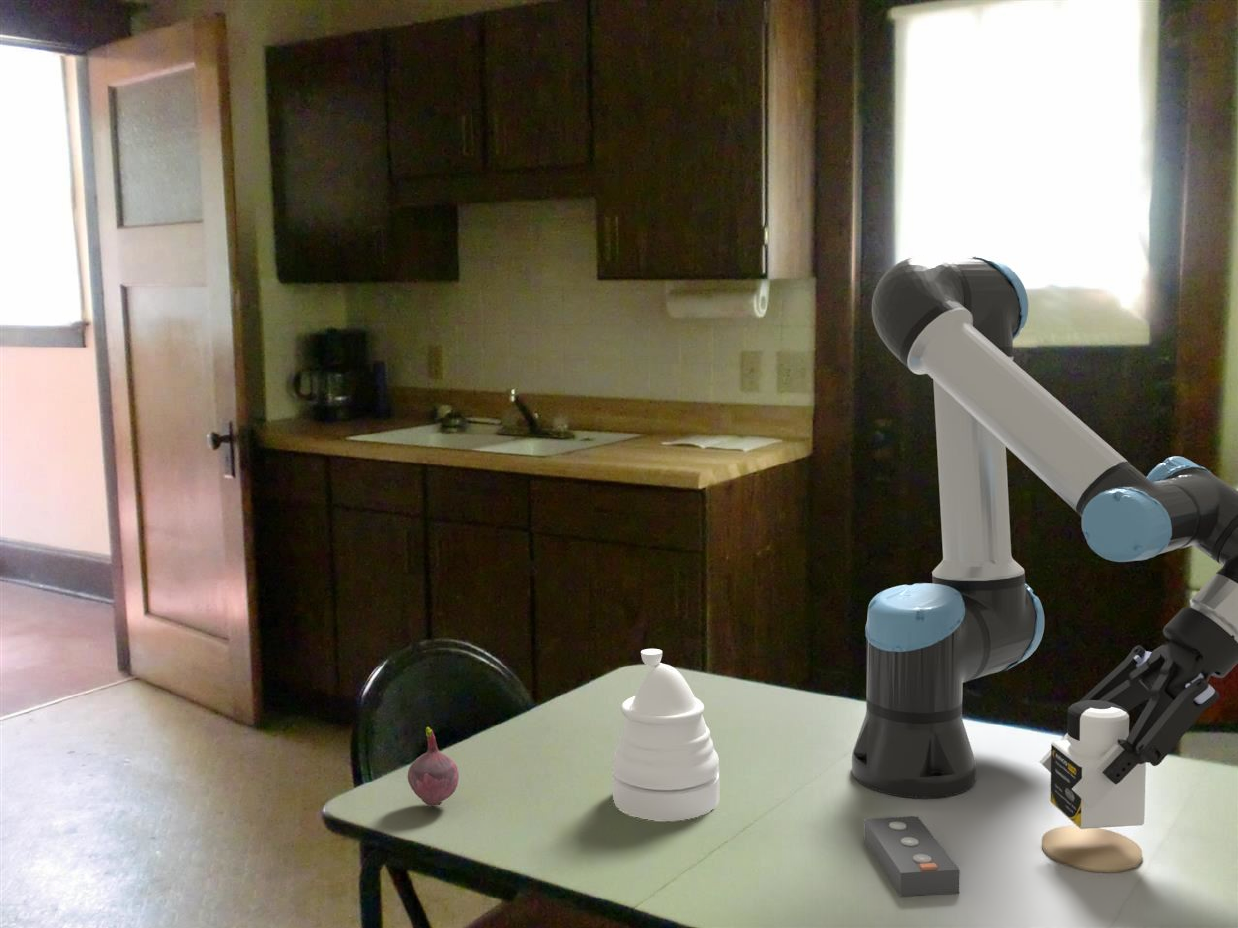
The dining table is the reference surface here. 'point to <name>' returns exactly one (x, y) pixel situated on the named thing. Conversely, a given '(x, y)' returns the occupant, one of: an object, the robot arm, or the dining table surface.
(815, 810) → the dining table surface
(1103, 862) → the coaster
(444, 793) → the vegetable
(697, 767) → the honey pot
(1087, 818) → the medicine bottle
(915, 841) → the power strip
